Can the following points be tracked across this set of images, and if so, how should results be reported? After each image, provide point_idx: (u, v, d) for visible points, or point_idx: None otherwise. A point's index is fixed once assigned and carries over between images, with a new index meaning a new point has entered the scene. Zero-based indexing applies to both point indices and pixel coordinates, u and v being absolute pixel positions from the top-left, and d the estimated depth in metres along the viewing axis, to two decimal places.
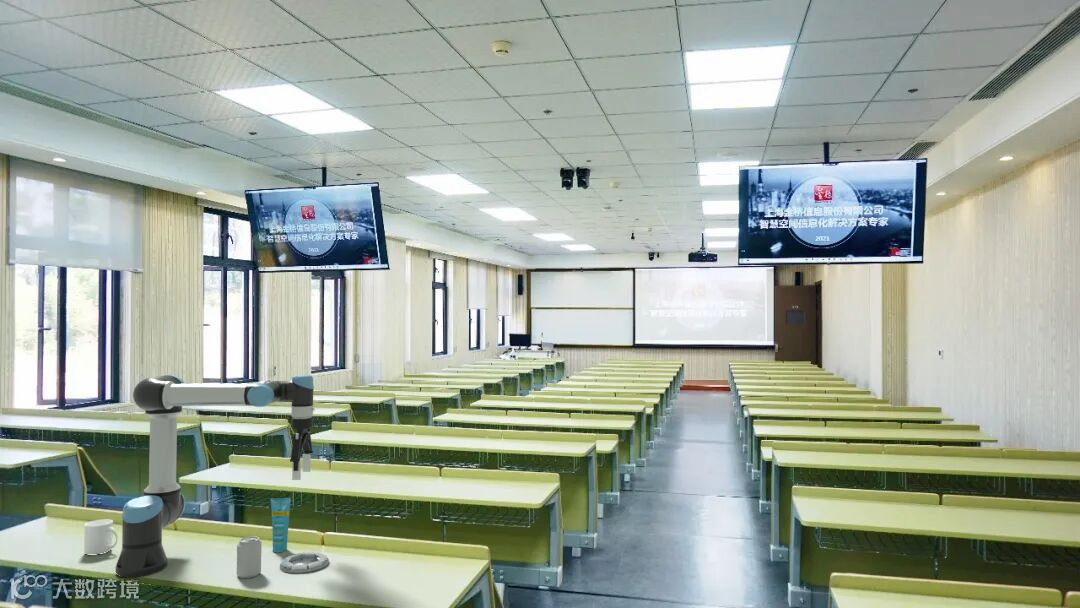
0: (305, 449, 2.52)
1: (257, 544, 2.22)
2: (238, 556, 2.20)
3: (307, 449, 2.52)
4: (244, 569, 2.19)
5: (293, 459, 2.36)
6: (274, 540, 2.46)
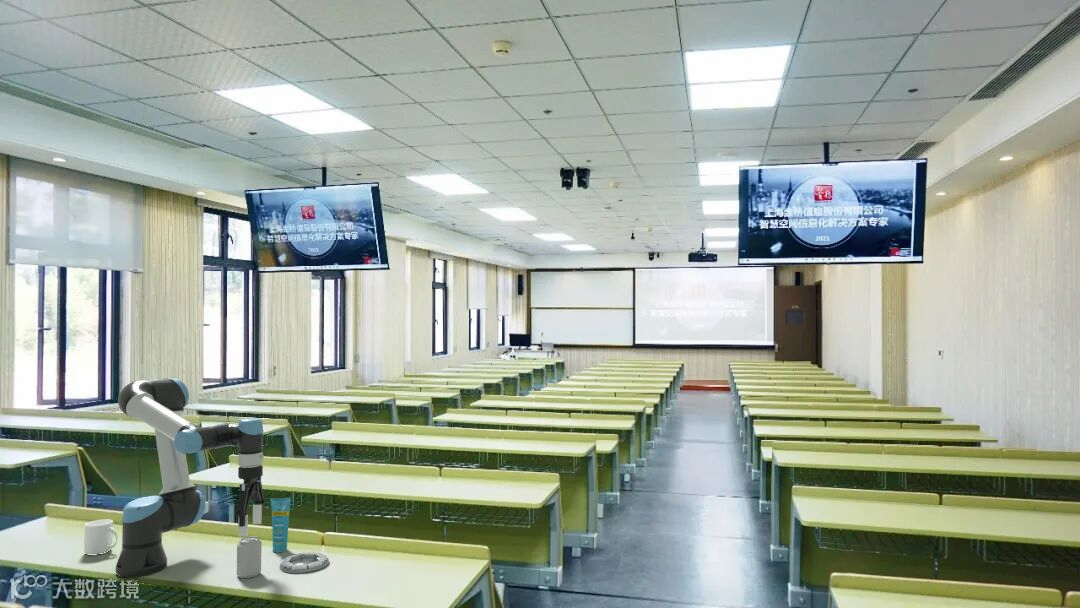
0: (255, 499, 2.30)
1: (257, 544, 2.22)
2: (238, 556, 2.20)
3: (257, 499, 2.30)
4: (244, 569, 2.19)
5: (238, 514, 2.14)
6: (274, 540, 2.46)
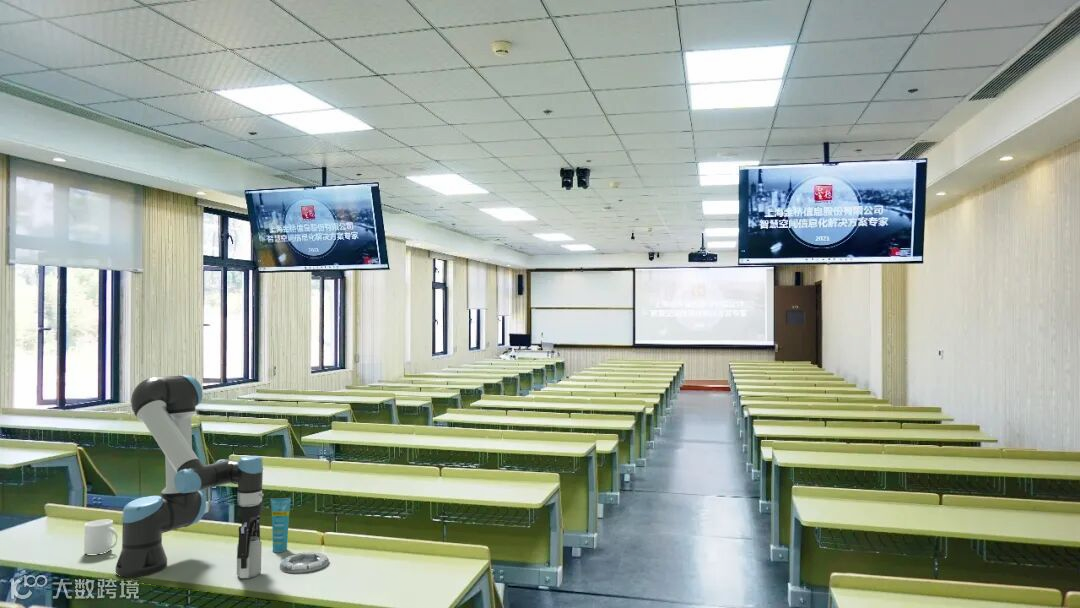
0: None
1: (257, 544, 2.22)
2: None
3: None
4: None
5: (240, 556, 2.16)
6: (274, 540, 2.46)
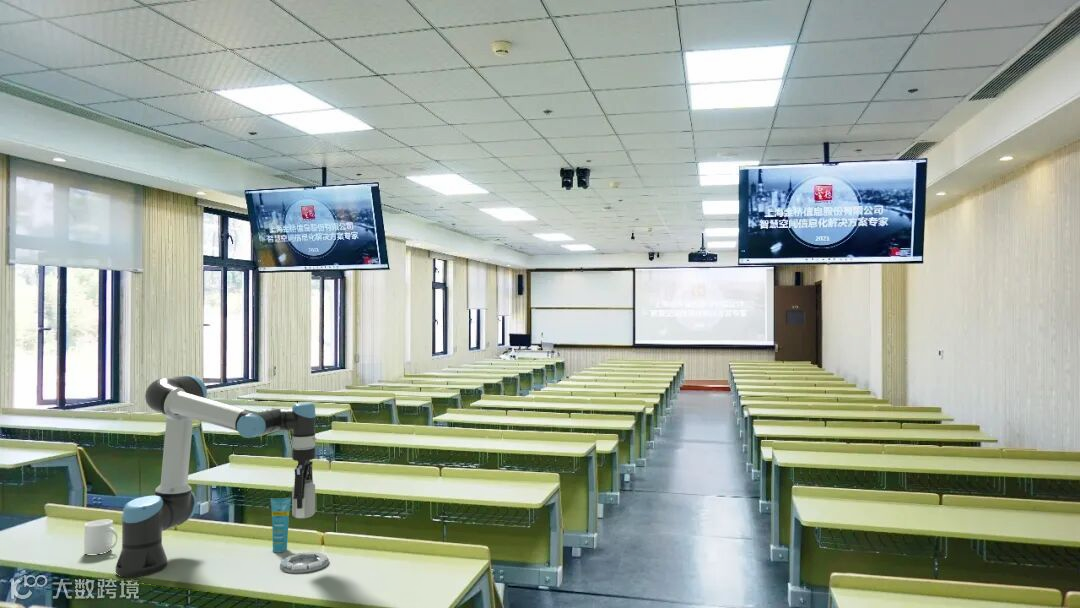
0: None
1: (311, 486, 2.31)
2: None
3: None
4: None
5: (296, 496, 2.25)
6: (274, 540, 2.46)
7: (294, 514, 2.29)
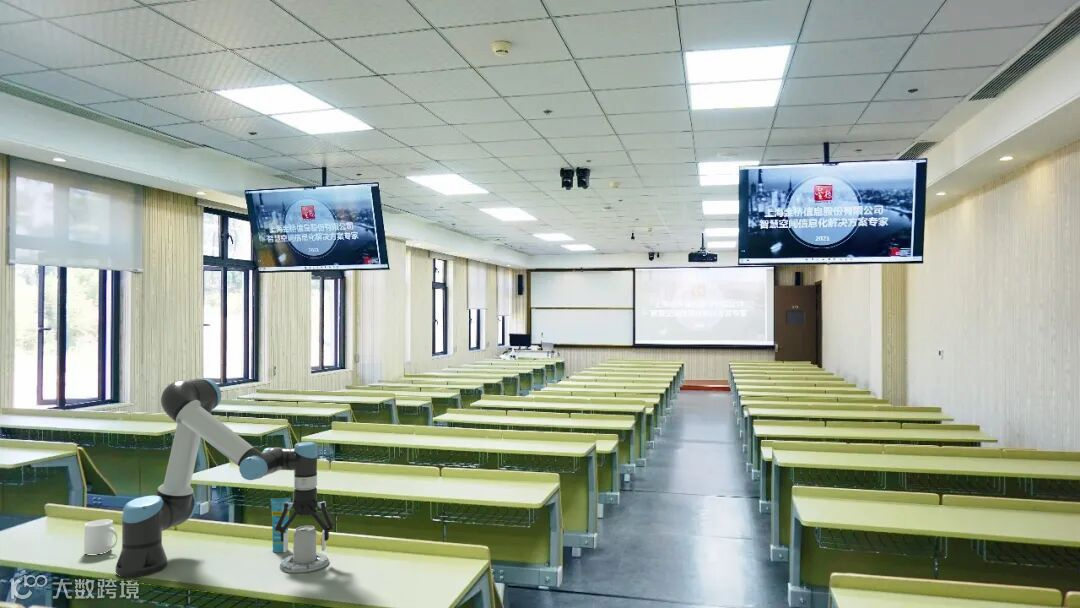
0: None
1: (298, 535, 2.29)
2: None
3: None
4: None
5: None
6: (274, 540, 2.46)
7: None
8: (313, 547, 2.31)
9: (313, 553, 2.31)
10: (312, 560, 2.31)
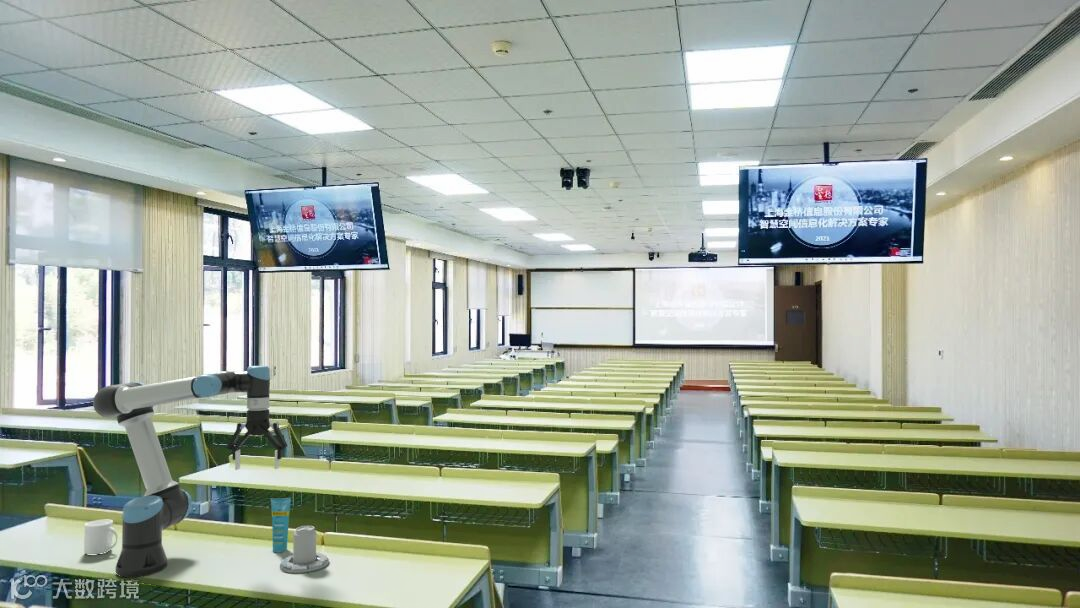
0: None
1: (297, 535, 2.29)
2: None
3: None
4: None
5: None
6: (274, 540, 2.46)
7: None
8: (313, 547, 2.31)
9: (313, 553, 2.31)
10: (312, 560, 2.31)
